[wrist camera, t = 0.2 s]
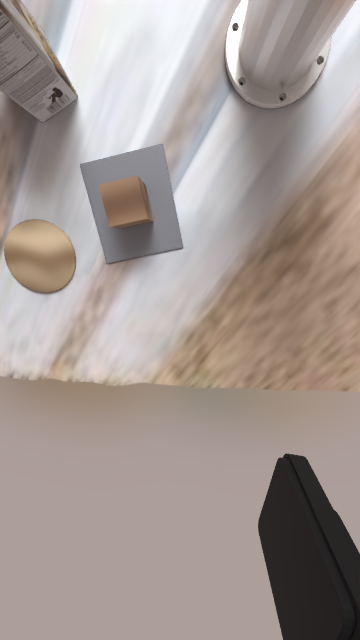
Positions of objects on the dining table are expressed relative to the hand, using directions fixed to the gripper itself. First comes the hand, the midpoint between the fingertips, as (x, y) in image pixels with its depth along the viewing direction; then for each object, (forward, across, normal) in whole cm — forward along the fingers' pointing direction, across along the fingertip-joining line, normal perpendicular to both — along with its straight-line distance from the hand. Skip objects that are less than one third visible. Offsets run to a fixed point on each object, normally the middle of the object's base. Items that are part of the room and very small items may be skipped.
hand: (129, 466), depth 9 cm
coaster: (+36, +22, -1) cm, 42 cm away
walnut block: (+36, +8, -10) cm, 38 cm away
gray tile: (+36, +8, -10) cm, 38 cm away
